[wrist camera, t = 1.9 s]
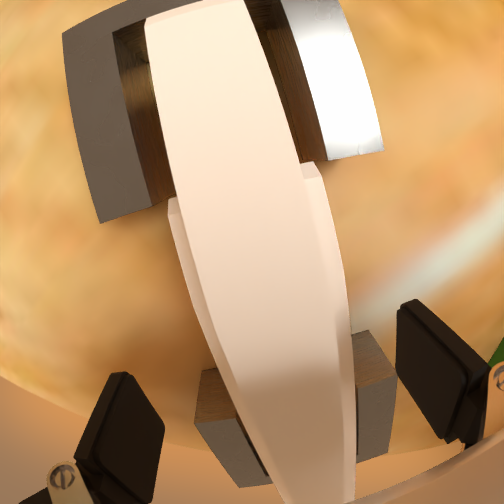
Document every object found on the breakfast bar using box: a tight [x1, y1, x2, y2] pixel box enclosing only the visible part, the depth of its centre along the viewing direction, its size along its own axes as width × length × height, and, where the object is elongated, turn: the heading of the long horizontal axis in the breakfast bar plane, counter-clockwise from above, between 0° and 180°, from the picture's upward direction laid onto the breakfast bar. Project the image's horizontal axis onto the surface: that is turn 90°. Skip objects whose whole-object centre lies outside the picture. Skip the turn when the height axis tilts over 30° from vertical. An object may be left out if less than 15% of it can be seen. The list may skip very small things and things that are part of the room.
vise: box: [62, 0, 398, 488], centre depth 15 cm, size 12×31×5 cm, turn 14°
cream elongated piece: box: [144, 0, 356, 504], centre depth 14 cm, size 6×25×13 cm, turn 14°
